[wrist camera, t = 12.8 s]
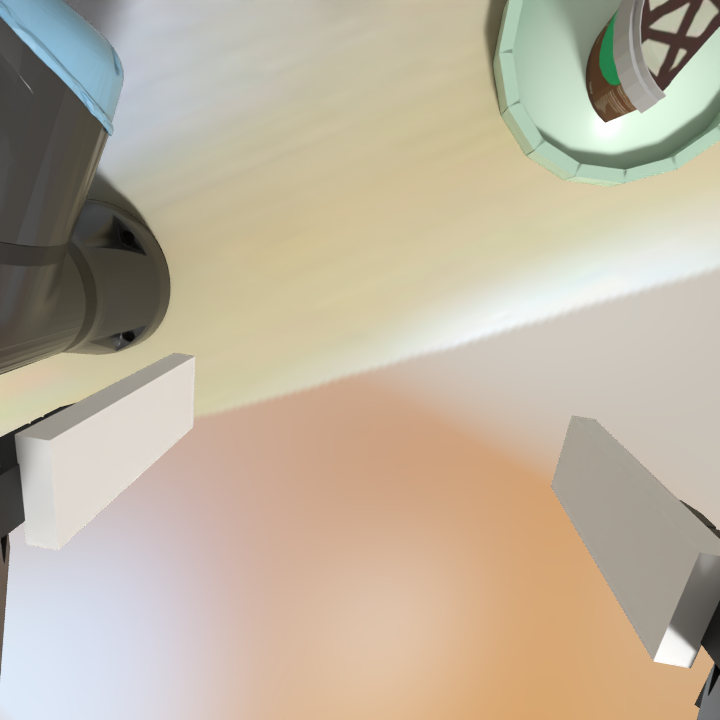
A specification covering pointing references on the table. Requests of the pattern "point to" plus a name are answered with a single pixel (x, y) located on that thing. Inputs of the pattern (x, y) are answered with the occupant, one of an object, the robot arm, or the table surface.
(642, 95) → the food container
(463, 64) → the table surface
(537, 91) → the tray
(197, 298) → the table surface
